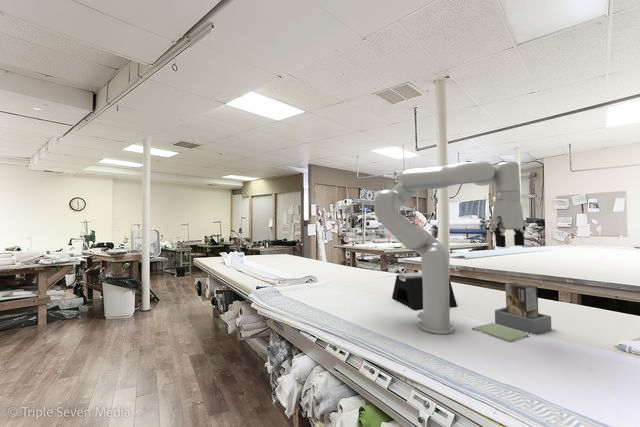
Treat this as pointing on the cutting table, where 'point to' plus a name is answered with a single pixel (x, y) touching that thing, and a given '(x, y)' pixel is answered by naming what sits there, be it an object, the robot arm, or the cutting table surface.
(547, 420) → the cutting table surface
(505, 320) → the grey open frame
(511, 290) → the coffee box
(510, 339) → the mat
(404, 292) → the device stand
